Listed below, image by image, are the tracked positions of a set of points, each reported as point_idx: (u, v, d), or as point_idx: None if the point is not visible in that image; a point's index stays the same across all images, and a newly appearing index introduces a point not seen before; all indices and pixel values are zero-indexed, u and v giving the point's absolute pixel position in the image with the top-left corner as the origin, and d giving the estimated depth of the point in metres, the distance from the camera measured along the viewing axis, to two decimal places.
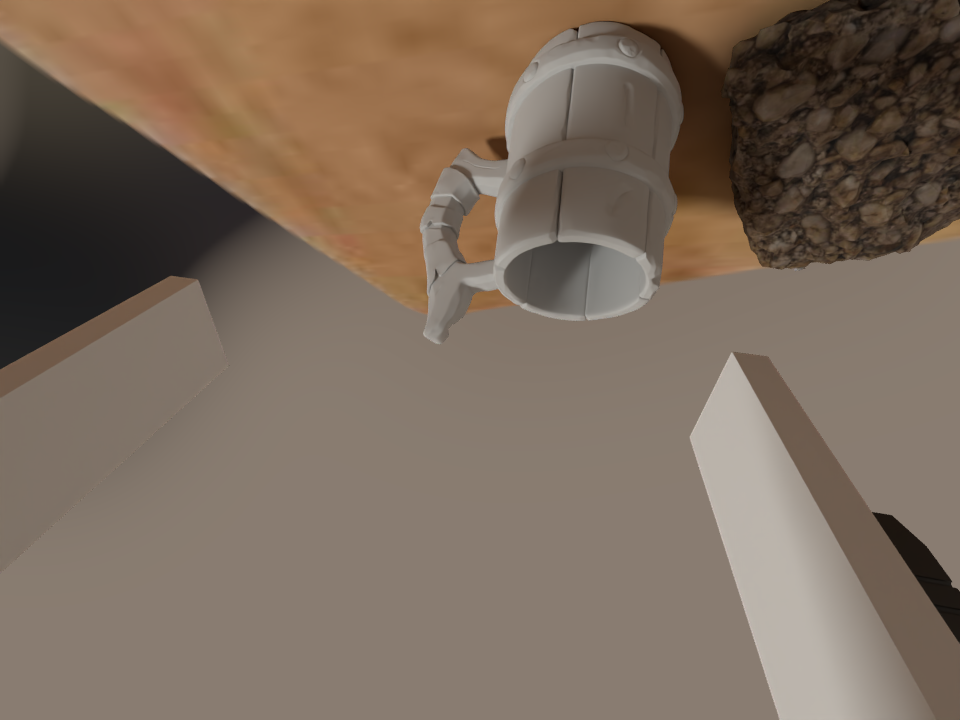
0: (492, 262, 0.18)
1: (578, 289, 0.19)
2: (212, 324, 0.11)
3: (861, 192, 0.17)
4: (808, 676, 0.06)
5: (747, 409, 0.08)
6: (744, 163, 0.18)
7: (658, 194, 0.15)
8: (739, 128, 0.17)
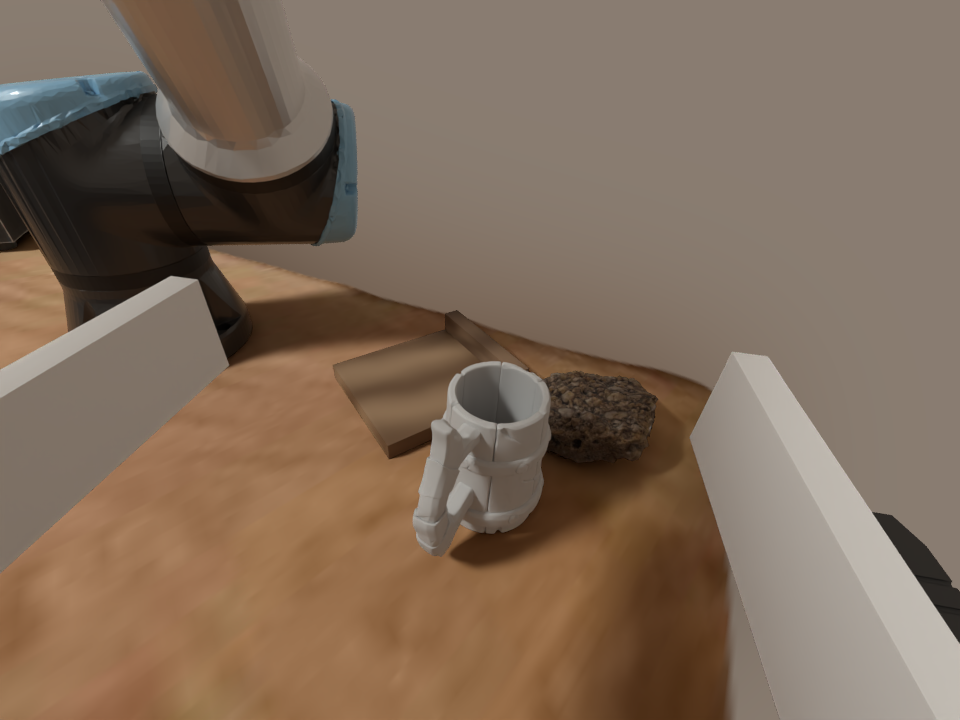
0: None
1: None
2: (212, 324, 0.11)
3: (596, 398, 0.35)
4: (808, 676, 0.06)
5: (747, 409, 0.08)
6: (555, 428, 0.33)
7: None
8: None
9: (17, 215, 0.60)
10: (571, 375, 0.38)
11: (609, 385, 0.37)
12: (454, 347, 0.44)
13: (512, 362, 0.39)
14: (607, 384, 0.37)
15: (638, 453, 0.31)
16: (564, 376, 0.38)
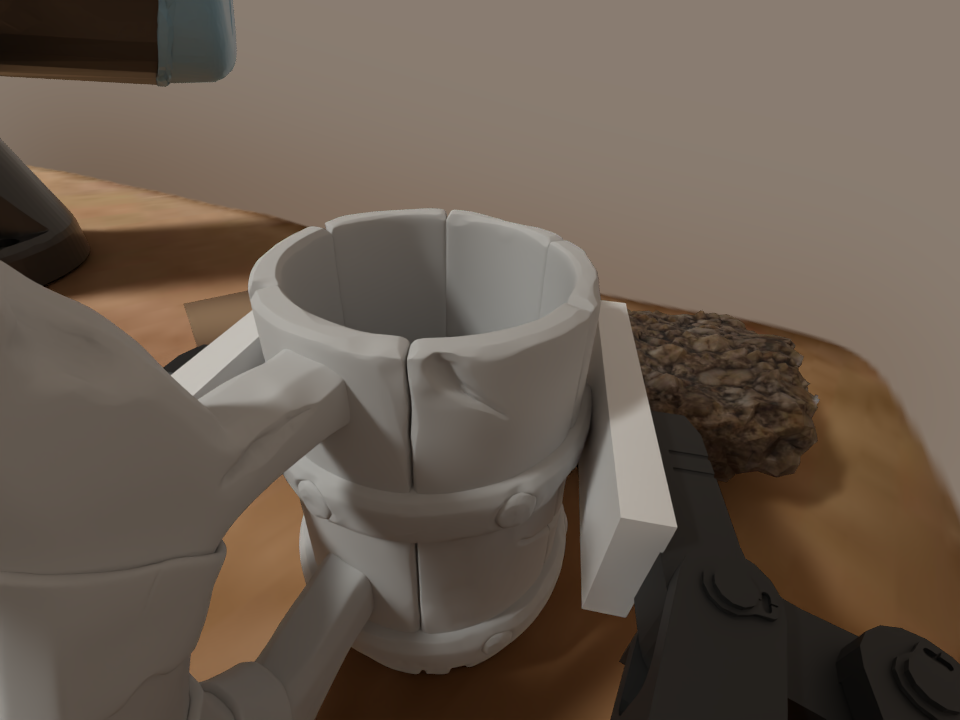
0: None
1: None
2: None
3: None
4: (591, 527, 0.07)
5: (596, 342, 0.10)
6: None
7: None
8: None
9: None
10: None
11: (685, 328, 0.19)
12: None
13: None
14: (680, 326, 0.19)
15: (796, 459, 0.13)
16: None
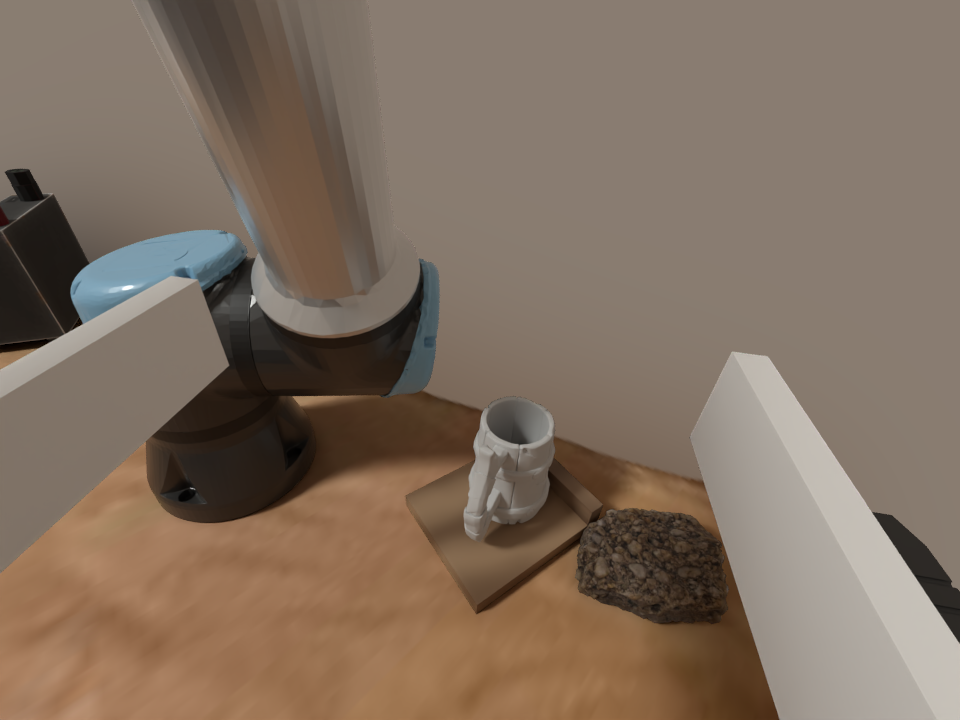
0: None
1: None
2: (212, 324, 0.11)
3: (664, 549, 0.35)
4: (808, 676, 0.06)
5: (748, 409, 0.08)
6: (631, 591, 0.33)
7: None
8: (608, 586, 0.34)
9: (68, 307, 0.60)
10: (630, 517, 0.38)
11: (669, 526, 0.37)
12: None
13: (586, 497, 0.39)
14: (666, 524, 0.38)
15: (719, 617, 0.32)
16: (623, 517, 0.38)
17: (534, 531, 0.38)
